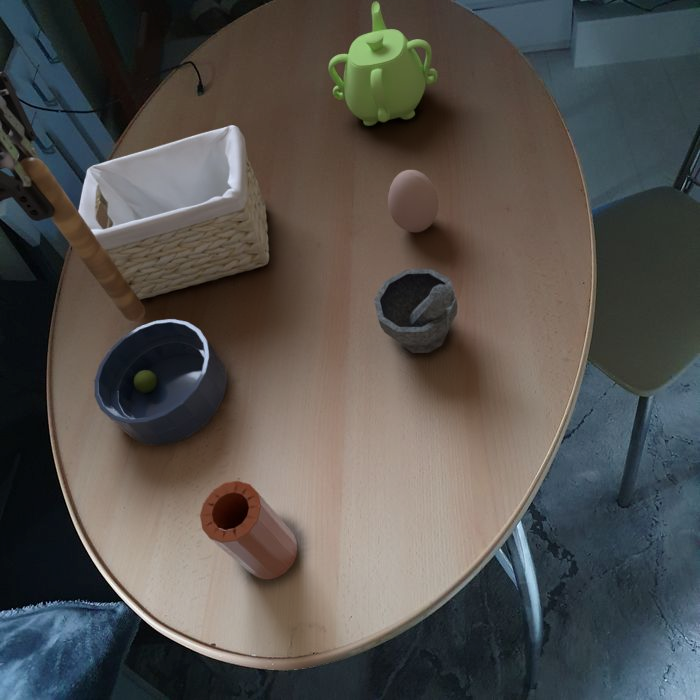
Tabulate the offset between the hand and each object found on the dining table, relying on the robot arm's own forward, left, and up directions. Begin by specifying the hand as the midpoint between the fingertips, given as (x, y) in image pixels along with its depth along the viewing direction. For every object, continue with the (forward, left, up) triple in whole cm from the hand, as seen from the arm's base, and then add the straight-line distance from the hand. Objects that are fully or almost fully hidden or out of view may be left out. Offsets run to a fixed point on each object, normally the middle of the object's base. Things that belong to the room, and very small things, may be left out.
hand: (47, 205), depth 62 cm
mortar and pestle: (+14, -27, -33) cm, 45 cm away
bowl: (-2, +3, -33) cm, 33 cm away
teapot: (+59, -6, -33) cm, 68 cm away
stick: (0, 0, -17) cm, 17 cm away
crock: (-17, -19, -33) cm, 42 cm away
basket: (+22, +12, -33) cm, 42 cm away
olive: (-2, +6, -31) cm, 32 cm away
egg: (+32, -20, -33) cm, 51 cm away
